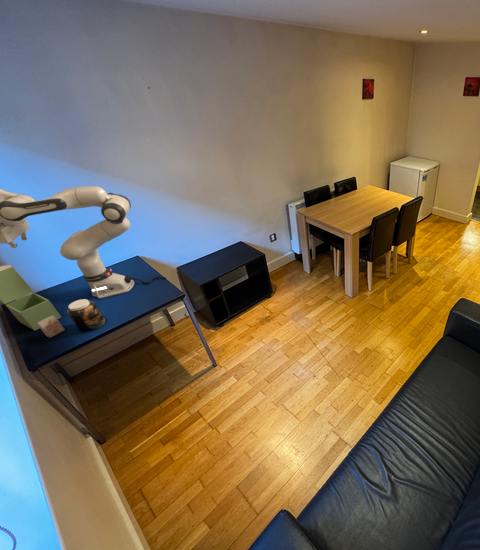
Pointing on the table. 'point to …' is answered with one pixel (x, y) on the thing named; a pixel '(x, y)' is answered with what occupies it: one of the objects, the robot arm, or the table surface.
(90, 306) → the jar
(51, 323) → the tea bag
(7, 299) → the lid
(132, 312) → the table surface
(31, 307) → the tea box
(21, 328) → the table surface
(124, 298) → the table surface
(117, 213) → the robot arm
